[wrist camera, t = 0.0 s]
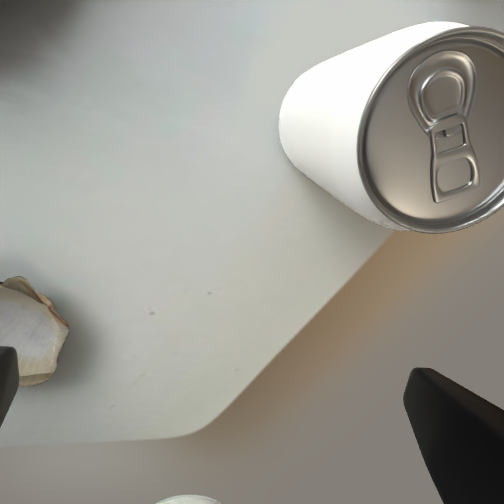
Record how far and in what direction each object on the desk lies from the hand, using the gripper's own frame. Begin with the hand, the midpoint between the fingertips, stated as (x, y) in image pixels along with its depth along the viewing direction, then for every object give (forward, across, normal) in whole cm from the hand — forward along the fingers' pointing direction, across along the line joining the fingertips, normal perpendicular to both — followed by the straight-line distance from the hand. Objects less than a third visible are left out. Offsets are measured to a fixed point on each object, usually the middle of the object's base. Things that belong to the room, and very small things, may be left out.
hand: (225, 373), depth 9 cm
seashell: (+16, +12, +9) cm, 22 cm away
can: (+16, -6, -6) cm, 18 cm away
